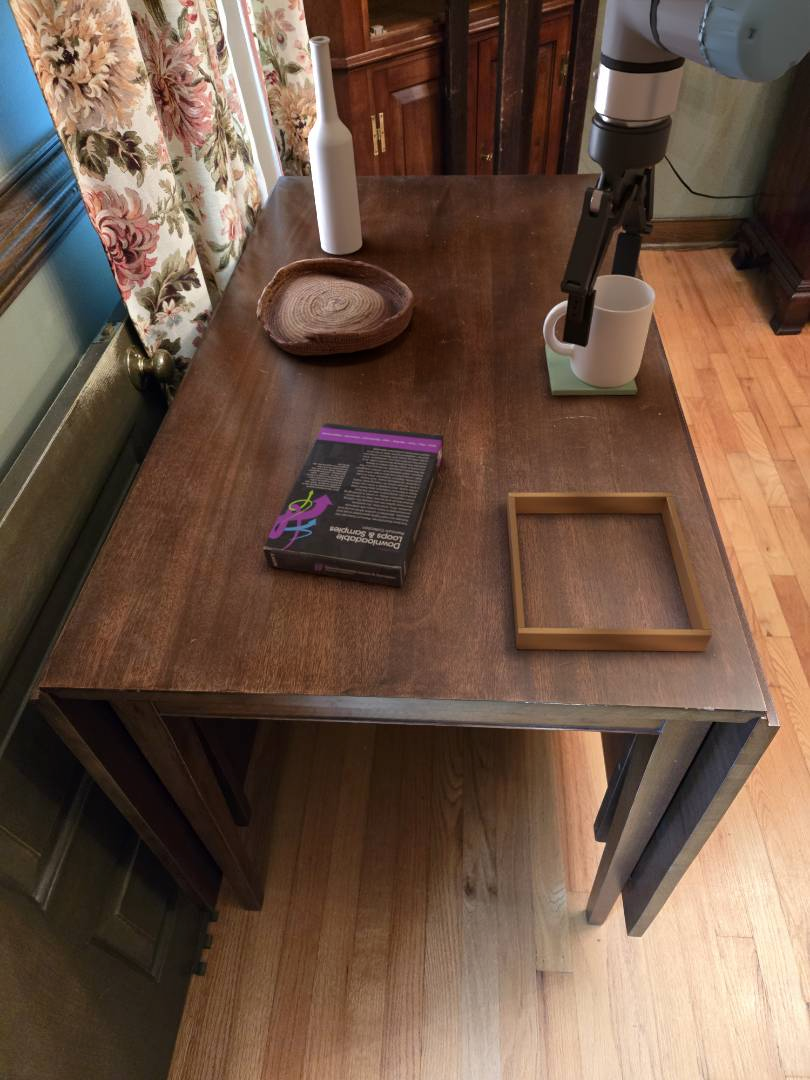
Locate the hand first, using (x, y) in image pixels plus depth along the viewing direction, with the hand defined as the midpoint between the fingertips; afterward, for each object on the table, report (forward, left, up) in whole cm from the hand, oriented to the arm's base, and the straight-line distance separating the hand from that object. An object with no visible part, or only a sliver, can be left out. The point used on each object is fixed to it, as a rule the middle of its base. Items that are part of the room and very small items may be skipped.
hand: (598, 314), depth 85 cm
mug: (0, +1, -7) cm, 7 cm away
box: (+11, +34, -8) cm, 37 cm away
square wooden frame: (-13, +30, -8) cm, 34 cm away
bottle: (+48, -13, -8) cm, 50 cm away
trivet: (0, 0, -8) cm, 8 cm away
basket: (+35, +6, -8) cm, 36 cm away
